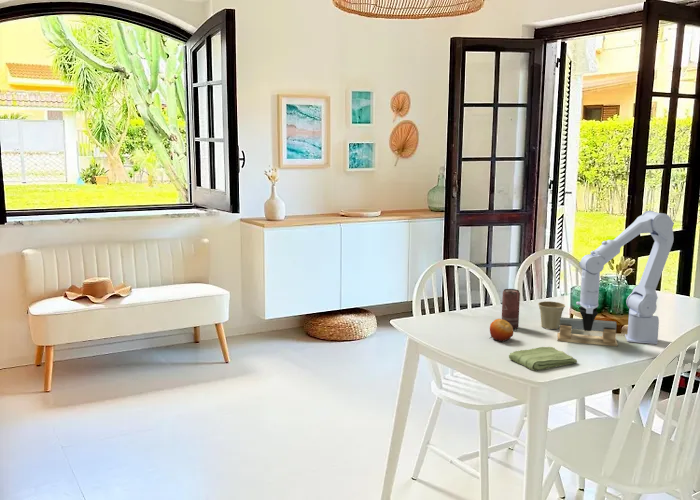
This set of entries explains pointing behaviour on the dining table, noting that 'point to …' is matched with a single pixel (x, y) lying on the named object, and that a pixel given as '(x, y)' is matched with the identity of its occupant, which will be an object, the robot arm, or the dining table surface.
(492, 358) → the dining table surface
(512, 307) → the can
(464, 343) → the dining table surface
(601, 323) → the rail
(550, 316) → the flower pot
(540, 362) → the washcloth
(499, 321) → the fruit
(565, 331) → the tan piece
